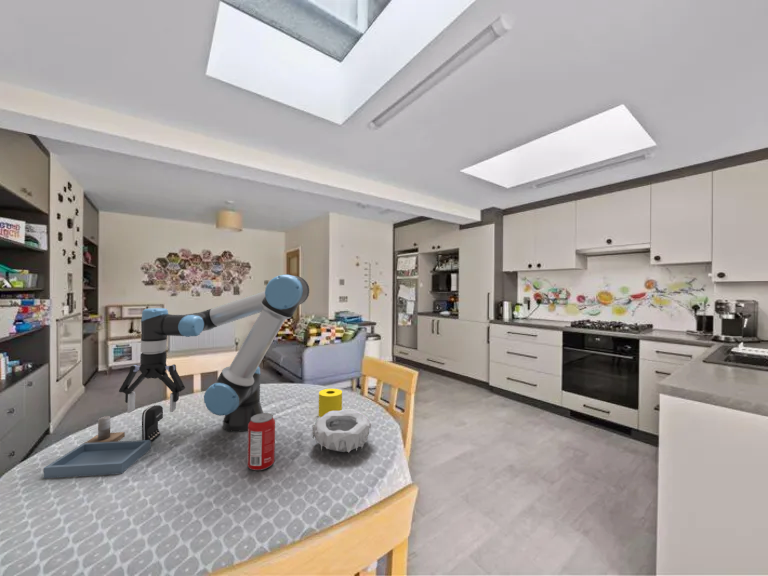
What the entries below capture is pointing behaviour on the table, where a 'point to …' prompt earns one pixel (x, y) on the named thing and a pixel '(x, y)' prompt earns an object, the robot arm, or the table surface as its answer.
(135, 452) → the parts tray
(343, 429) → the bowl
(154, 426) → the battery charger
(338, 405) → the tape roll
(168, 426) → the table surface
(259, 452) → the soda can
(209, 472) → the table surface
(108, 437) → the wooden base with post
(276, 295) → the robot arm
